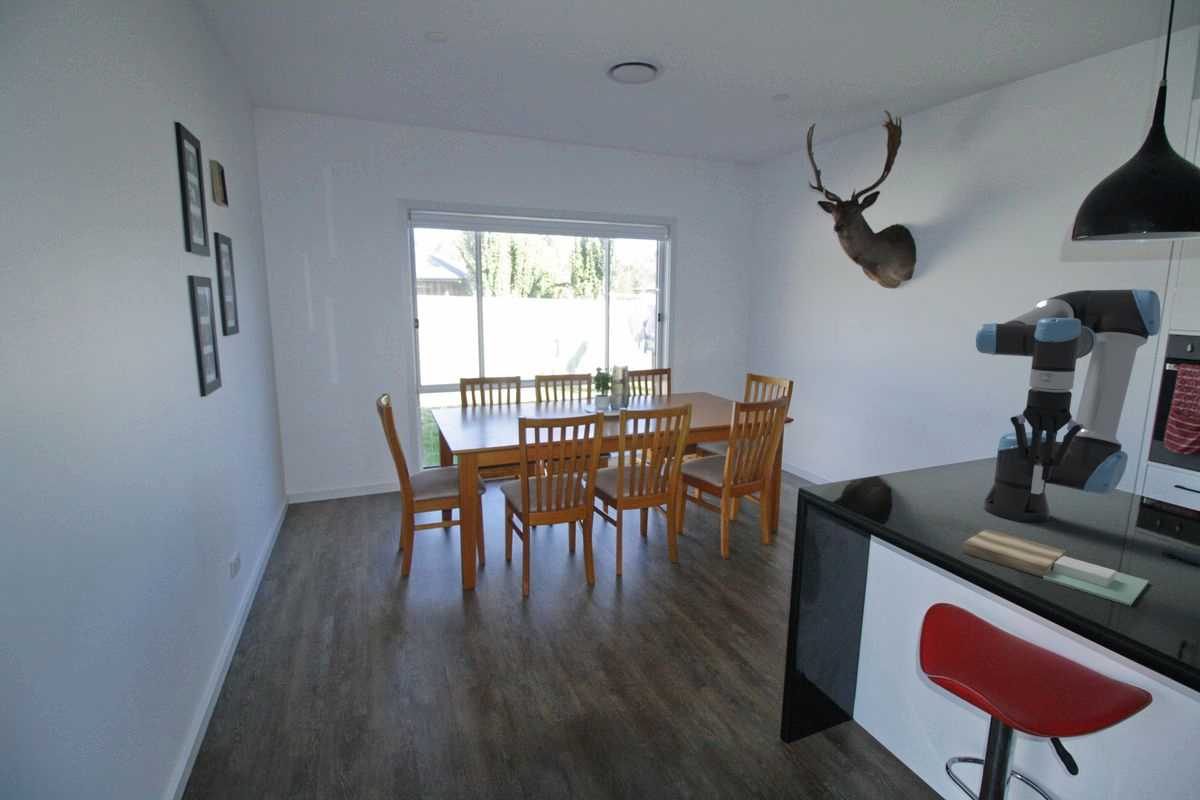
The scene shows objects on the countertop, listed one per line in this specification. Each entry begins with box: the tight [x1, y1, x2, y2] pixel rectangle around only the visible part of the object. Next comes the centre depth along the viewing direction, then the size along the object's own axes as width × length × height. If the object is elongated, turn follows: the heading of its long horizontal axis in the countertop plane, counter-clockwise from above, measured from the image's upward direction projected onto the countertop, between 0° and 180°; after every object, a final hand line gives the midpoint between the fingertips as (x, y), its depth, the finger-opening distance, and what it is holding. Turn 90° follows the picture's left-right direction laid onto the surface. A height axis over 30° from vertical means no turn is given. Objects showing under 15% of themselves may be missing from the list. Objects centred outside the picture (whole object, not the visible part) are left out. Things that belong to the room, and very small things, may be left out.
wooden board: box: [961, 528, 1067, 578], centre depth 132 cm, size 14×16×2 cm
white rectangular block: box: [1053, 555, 1117, 587], centre depth 122 cm, size 9×6×2 cm, turn 37°
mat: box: [1042, 568, 1149, 607], centre depth 121 cm, size 16×14×1 cm
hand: (1036, 492), depth 128 cm, fingers closed
